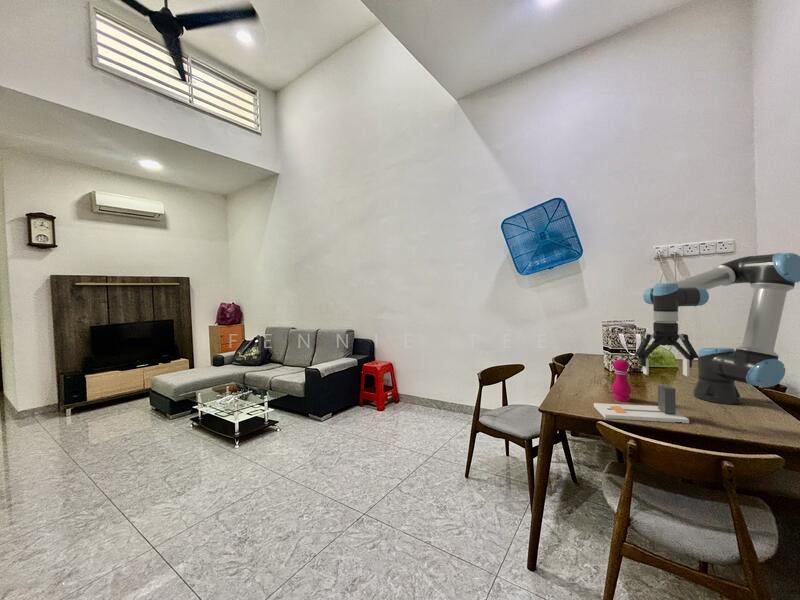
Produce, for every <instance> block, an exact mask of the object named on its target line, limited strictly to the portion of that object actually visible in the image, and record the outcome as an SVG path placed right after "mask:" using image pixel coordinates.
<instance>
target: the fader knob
mask: <svg viewBox="0 0 800 600" xmlns="http://www.w3.org/2000/svg"><path fill="white" fill-rule="evenodd" d="M676 401H677V400H676V388H675V387H672V385H669V384H657V402H658V403H657V406H658V409H659V410H661V411H662V412H664V413H665V414H676V408H677V407H676Z"/></svg>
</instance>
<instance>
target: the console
mask: <svg viewBox="0 0 800 600" xmlns="http://www.w3.org/2000/svg"><path fill="white" fill-rule="evenodd" d="M593 407H594V408H595V409H596V410H597V412H598V413H599V414H600V415H601V416H602V417H603V418H604V419H609V420H610V419H611V420H628V421H644V422H645V421H646V422H658V421H659V422H663V423H675V422H682V423H681V424H690V419H689V418H688V417H686V416H684V415H683V414H681V413H680V412H679V411H676V414H665V413H664V412H662V411H661V410H659V409H658V405H641V404H622V403H619V404H617V403H599V402H594V403H593ZM659 422H658V423H659Z"/></svg>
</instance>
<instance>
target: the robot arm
mask: <svg viewBox="0 0 800 600" xmlns="http://www.w3.org/2000/svg"><path fill="white" fill-rule="evenodd" d="M796 283H800V255H799V254H797V253H794V252H783V253H782V252H776V253H769V254H760V255H749V256H744V257H739V258H736V259H733V260H730V261H727V262H724V263H721V264H718V265H715V266H714V267H712V269H710V270H707V271H704V272H702V273H699V274H695V275H692V276H689V277H686V278H684V279H681V280H678V281H675V282H669V283H668V282H666V283H665V282H663V283H662V282H661V283H660V282H659V283H655V284H654V285H653V287H650V288H646V289H645V290H644V291H643V294H642V298H643V301H644V302H645V303H646V304H648V305H653V308H652V309H653V315H652V316H653V317H652V318H653V321H654V322H653V325H652V327H653V333H652V334H650V333H646V332H645V333H644V335H643V339H642V341H641V343H640V344H639V346H638V347H637V349H636V351H635V353H634V355H635V356H636V357H638V358H640V366H642V374H644V375H645V376H648V375H649V373H650V372H649V370H650V368H649V367H650V364H649V360H650V359H649V358H648V357H649V356H650V355H651V354H652V353H653V352H654V351H655V350H656V349H657V348H658V347H660V346H663V347H664V346H669V347H671V346H673V347H674V348H675V349H676V350H677V351H678V352H679V353H680V354H681V356H683V358H682V375H683V376H685V377H689V378H690V368H693V361H694V359H697V374H698V375H697V376H698V377H697V380H696V381H697V382H696V384H695V386H694V388H693V390H692V395H693V396H694V397H695V398H697V399H699V400H703V401H706V402H712V403H715V404H723V405H738V404H740V403H741V402H742V401H741V400H742V398H741V395H740V393H739V391H738V387H737V386H736V384H735V383H736V382H739V383H743V384H747V385H749V386H750V385H751V386H755V387H761V388H771V387H774V386H776V385H778V384H780V383H781V381H782V380H784V377H785V375H786V367H785V364H784V363H783V362H782V361H780V360H779V354H777V352H775V347H776V342H777V337H778V334H779V329H780V324H781V320H782V315H783V312H784V306H785V301H786V297H787V293H788V292H789V291H791V290H793V289H795V284H796ZM733 284H749V285H750V287H751V288H752V289H754V291H753V295H752V300H751V304H750V309H749V314H748V317H747V321H746V327H745V331H744V335H743V340H742V345H740V346H738V347H736V348H732V347H702V348H699V349H698V351H697V352H698V353H697V352H696V350H695V348H694V347H693V345H692V344H691V342H690V340H689V335H688V334H686V333H681V334H679V323H678V322H679V307H698V306H699V307H700V306H703V305H706V304H707V303H708V302H709V299H710V294H709V292H708V291H707V290H710V289H713V288H716V287H720V286H723V287H725V286H730V285H733ZM652 339H654V340H653V341H652V342H651V344H649V343H650V341H651V340H652ZM678 340H681V342H682V343H683V345H684V347H685V348H683V346H681V344H680V342H679V341H678ZM648 345H649V346H648ZM649 376H650V375H649ZM735 381H736V382H735Z"/></svg>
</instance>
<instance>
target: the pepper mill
mask: <svg viewBox="0 0 800 600" xmlns="http://www.w3.org/2000/svg"><path fill="white" fill-rule="evenodd" d="M612 364H613V365H612V367H613V368H614V373H615V380H614V382H613V384H612V386H611V390H612V392H613V399H614V400H616V401H617V402H618V401H620V402H630V401H631V396H630V395H631V394H632V388H631V386H630V384H629V382H628V379H627V377H628V374H629V372H628V370H629V368H630V364H629V362H628V361H626V360H625V359H624V357H623V356H618V359H616V360H614V361H613V363H612Z"/></svg>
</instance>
